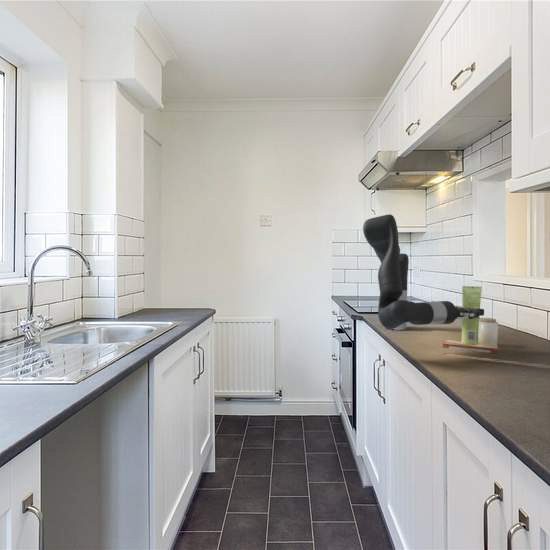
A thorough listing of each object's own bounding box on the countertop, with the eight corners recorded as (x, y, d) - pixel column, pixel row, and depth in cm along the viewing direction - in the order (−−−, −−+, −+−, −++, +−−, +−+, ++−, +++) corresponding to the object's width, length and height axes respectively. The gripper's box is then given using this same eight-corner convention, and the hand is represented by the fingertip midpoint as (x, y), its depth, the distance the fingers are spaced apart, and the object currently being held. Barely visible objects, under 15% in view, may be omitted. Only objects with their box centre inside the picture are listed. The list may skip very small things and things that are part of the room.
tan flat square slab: (447, 342, 142) (447, 336, 142) (497, 347, 134) (497, 341, 134) (442, 351, 129) (442, 343, 129) (497, 357, 121) (497, 349, 121)
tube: (463, 341, 133) (465, 285, 132) (479, 343, 130) (481, 286, 129) (459, 344, 128) (462, 286, 127) (476, 346, 125) (479, 286, 125)
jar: (478, 342, 138) (478, 317, 137) (497, 343, 135) (498, 318, 134) (477, 345, 132) (478, 319, 132) (497, 347, 129) (498, 320, 129)
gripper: (454, 303, 117) (496, 302, 123) (422, 299, 130) (460, 298, 136) (454, 328, 117) (495, 325, 123) (421, 321, 130) (460, 319, 136)
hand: (477, 311), depth 130 cm, fingers closed on tube, 4 cm apart
